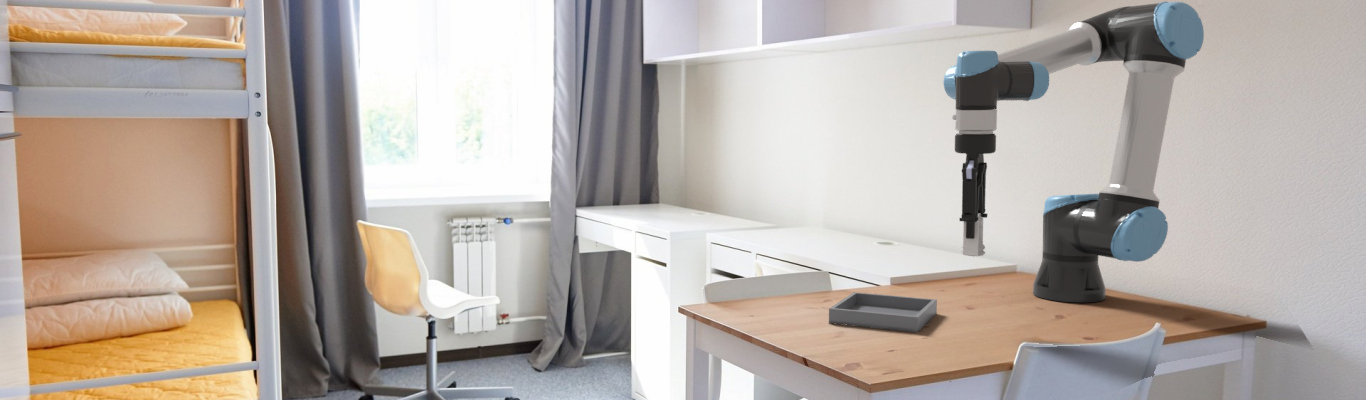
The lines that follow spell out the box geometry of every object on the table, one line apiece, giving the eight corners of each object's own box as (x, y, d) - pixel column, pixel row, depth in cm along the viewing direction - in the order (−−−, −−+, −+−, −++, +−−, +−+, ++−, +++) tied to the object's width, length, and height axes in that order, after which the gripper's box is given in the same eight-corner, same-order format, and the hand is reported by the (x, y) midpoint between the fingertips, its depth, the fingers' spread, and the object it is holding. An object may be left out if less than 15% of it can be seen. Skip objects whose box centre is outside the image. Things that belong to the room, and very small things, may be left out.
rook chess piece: (973, 257, 180) (973, 215, 179) (956, 253, 184) (957, 213, 183) (990, 255, 182) (991, 214, 181) (973, 252, 186) (974, 211, 185)
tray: (936, 313, 196) (936, 299, 195) (917, 332, 180) (918, 317, 180) (853, 305, 203) (854, 292, 203) (828, 323, 188) (829, 308, 187)
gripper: (963, 130, 189) (961, 245, 192) (946, 134, 174) (944, 259, 176) (1002, 130, 186) (999, 247, 189) (988, 134, 171) (985, 261, 173)
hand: (972, 252), depth 183 cm, fingers closed on rook chess piece, 4 cm apart
